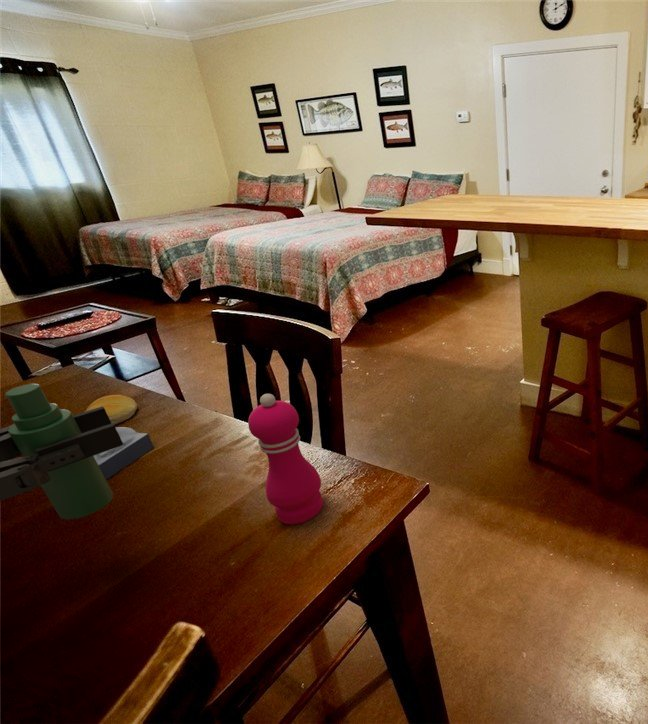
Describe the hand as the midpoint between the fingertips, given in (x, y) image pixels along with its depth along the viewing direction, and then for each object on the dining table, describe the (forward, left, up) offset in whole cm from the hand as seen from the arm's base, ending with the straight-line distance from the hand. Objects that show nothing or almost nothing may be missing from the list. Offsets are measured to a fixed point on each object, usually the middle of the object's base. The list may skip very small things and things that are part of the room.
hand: (112, 425), depth 57 cm
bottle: (-3, -4, -9) cm, 10 cm away
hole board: (-28, +15, -20) cm, 37 cm away
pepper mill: (+14, +9, -20) cm, 26 cm away
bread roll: (-39, +27, -20) cm, 52 cm away
